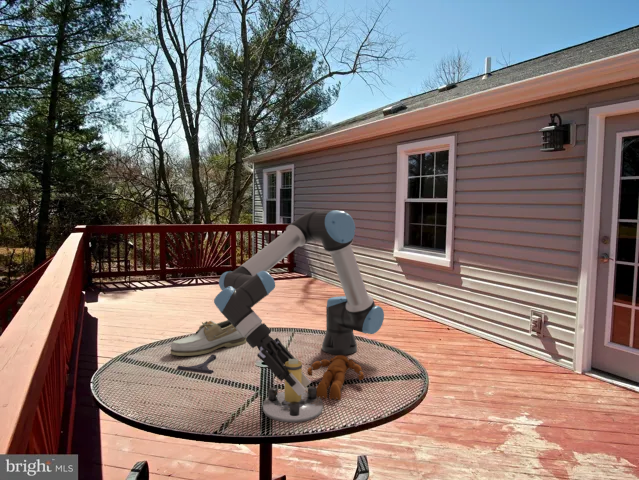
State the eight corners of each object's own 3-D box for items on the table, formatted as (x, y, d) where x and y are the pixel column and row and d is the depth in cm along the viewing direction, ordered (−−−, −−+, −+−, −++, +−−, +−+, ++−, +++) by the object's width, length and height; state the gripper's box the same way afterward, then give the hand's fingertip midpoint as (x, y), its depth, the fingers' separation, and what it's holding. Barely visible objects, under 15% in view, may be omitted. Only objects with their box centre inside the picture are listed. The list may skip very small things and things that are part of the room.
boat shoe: (163, 354, 177) (163, 325, 176) (233, 337, 203) (233, 312, 203) (180, 362, 168) (179, 331, 167) (251, 343, 194) (251, 316, 194)
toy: (359, 406, 134) (368, 368, 163) (359, 384, 133) (368, 351, 162) (297, 399, 138) (317, 364, 167) (297, 379, 137) (317, 347, 166)
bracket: (230, 362, 170) (230, 355, 170) (211, 375, 156) (211, 367, 156) (198, 358, 174) (198, 351, 174) (177, 371, 160) (177, 363, 160)
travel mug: (300, 395, 131) (301, 356, 131) (302, 402, 126) (302, 362, 126) (284, 395, 131) (284, 357, 130) (284, 403, 126) (284, 362, 125)
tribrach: (319, 394, 139) (319, 381, 138) (326, 421, 121) (326, 405, 121) (263, 396, 137) (263, 382, 136) (262, 423, 119) (262, 407, 119)
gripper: (256, 330, 140) (304, 385, 137) (233, 346, 122) (287, 409, 120) (272, 315, 138) (320, 370, 135) (250, 330, 121) (306, 393, 118)
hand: (305, 388), depth 128 cm, fingers closed on travel mug, 5 cm apart
